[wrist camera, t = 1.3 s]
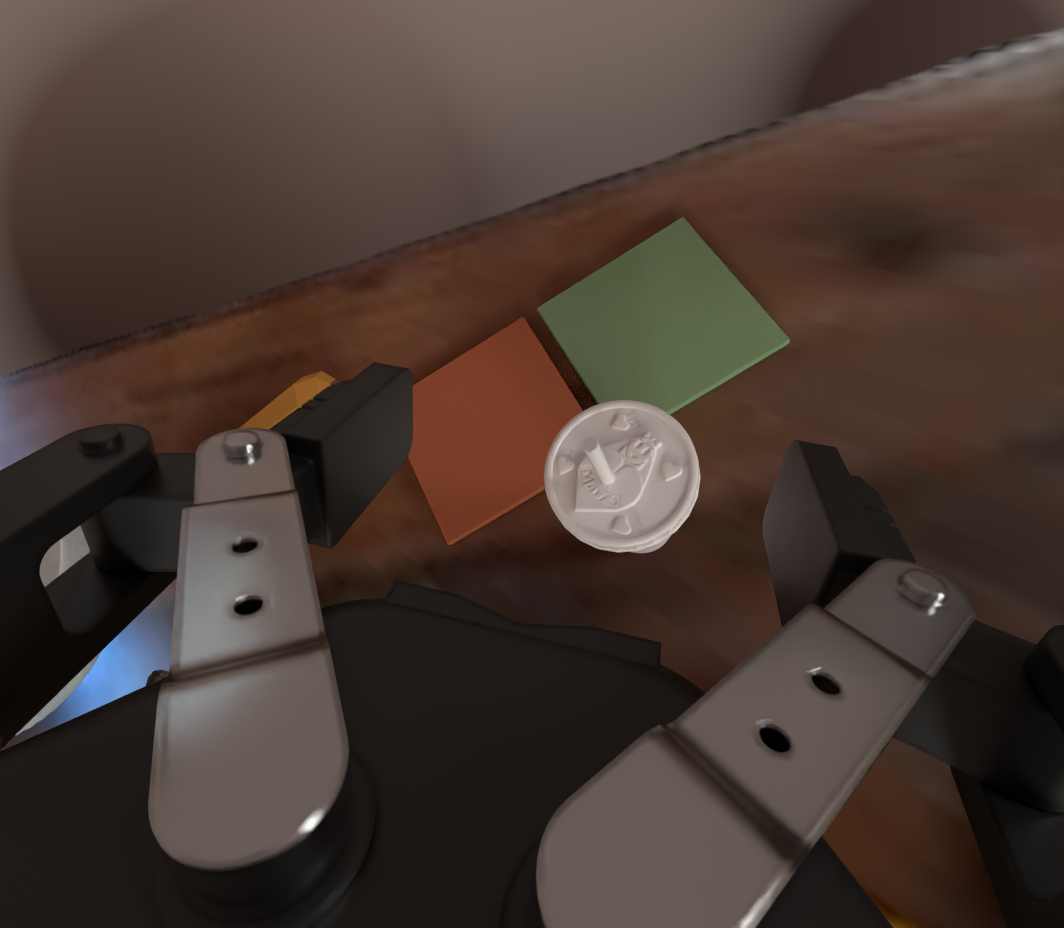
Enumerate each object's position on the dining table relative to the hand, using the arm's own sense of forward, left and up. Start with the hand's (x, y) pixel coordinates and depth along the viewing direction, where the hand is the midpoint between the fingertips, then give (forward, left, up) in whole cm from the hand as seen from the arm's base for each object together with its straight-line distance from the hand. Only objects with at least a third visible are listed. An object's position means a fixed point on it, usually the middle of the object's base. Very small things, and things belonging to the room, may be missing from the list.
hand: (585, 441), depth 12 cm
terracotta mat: (+4, -13, -21) cm, 25 cm away
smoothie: (-1, -3, -21) cm, 21 cm away
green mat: (-8, -13, -21) cm, 26 cm away
